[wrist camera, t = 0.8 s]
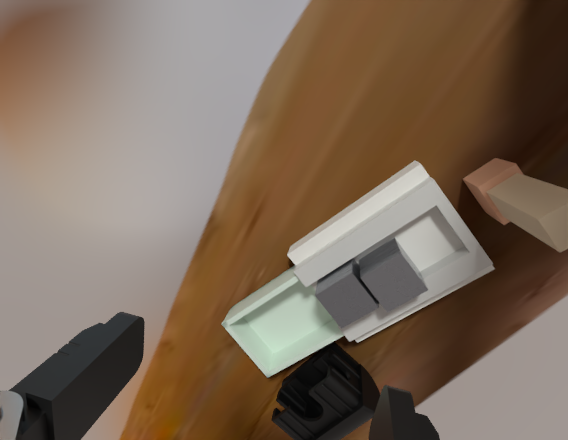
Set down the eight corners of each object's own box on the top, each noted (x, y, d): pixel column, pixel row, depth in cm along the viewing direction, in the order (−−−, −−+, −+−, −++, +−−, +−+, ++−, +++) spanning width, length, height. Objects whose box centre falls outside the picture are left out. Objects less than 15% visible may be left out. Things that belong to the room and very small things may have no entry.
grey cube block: (394, 237, 32) (401, 253, 28) (418, 269, 32) (428, 290, 29) (358, 259, 33) (360, 278, 29) (382, 290, 34) (387, 312, 30)
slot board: (415, 160, 32) (424, 166, 28) (484, 258, 34) (502, 276, 30) (290, 246, 37) (284, 260, 33) (356, 328, 38) (357, 352, 34)
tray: (302, 260, 37) (297, 274, 34) (346, 315, 38) (346, 334, 35) (231, 307, 40) (221, 324, 37) (273, 357, 41) (267, 377, 38)
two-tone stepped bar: (495, 157, 31) (582, 181, 20) (518, 192, 31) (616, 235, 20) (462, 178, 32) (526, 213, 21) (485, 212, 32) (561, 264, 21)
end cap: (320, 419, 43) (315, 472, 36) (278, 383, 42) (266, 430, 36) (379, 376, 40) (386, 426, 33) (334, 336, 39) (332, 379, 33)
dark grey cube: (351, 255, 33) (351, 272, 29) (375, 286, 34) (379, 307, 30) (318, 276, 34) (314, 295, 31) (341, 305, 35) (341, 328, 31)
